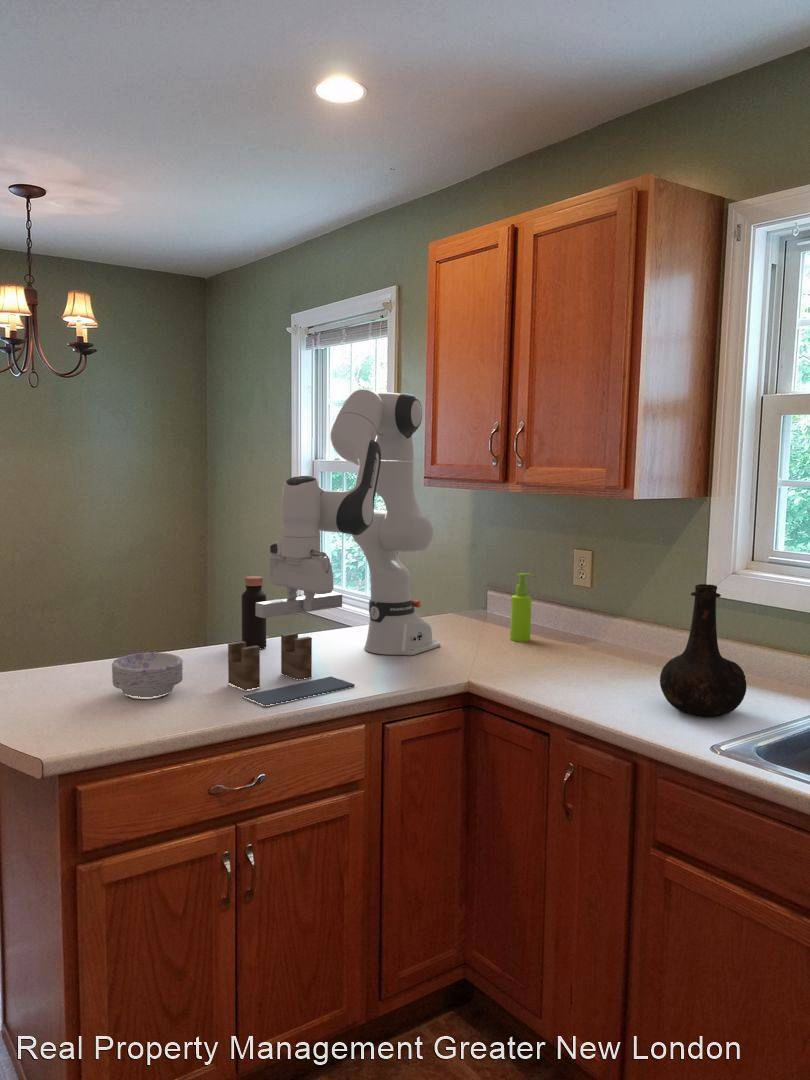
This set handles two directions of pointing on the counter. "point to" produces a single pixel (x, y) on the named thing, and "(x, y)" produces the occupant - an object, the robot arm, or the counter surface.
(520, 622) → the soap dispenser
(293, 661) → the cradles
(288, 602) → the rail
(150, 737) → the counter surface
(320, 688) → the mat
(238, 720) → the counter surface
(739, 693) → the glass bottle
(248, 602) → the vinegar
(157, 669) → the paper bowls
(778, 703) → the counter surface
